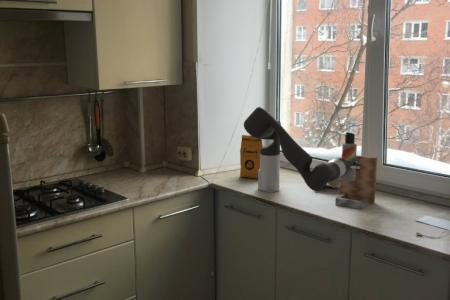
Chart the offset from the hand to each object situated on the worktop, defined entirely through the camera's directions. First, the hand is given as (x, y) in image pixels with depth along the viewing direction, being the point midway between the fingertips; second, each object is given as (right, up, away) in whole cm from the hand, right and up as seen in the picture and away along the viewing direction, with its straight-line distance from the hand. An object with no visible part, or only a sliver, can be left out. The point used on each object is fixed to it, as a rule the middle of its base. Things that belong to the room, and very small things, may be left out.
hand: (350, 161), depth 219 cm
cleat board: (+3, -18, +8) cm, 20 cm away
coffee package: (-38, -10, +55) cm, 67 cm away
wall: (-3, -14, +34) cm, 37 cm away
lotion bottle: (-1, -8, 0) cm, 8 cm away
